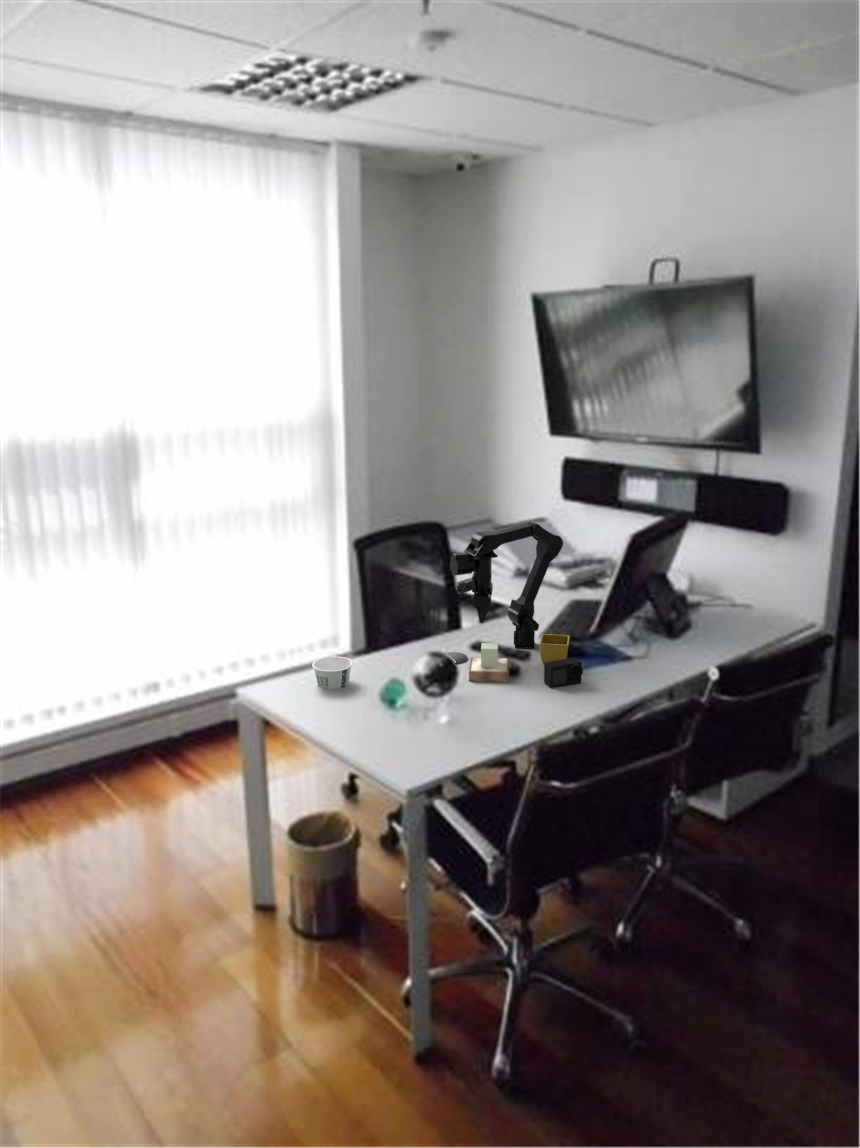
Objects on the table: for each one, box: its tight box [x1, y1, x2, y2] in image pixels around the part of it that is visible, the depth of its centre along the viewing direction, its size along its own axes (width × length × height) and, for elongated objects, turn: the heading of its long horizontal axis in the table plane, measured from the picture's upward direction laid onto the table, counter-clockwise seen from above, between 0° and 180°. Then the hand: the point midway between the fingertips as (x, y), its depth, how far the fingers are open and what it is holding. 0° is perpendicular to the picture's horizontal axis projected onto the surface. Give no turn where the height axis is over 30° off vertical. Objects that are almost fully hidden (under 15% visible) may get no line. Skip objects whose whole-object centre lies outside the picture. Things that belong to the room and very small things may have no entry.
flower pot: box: [539, 633, 570, 666], centre depth 275 cm, size 9×9×9 cm
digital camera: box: [543, 657, 584, 689], centre depth 261 cm, size 10×5×7 cm, turn 110°
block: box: [480, 642, 499, 668], centre depth 269 cm, size 5×5×6 cm
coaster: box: [444, 651, 468, 665], centre depth 283 cm, size 9×9×1 cm
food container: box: [311, 655, 353, 690], centre depth 264 cm, size 12×12×6 cm
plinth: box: [468, 656, 510, 683], centre depth 270 cm, size 12×12×3 cm
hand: (482, 618), depth 285 cm, fingers open, 9 cm apart
